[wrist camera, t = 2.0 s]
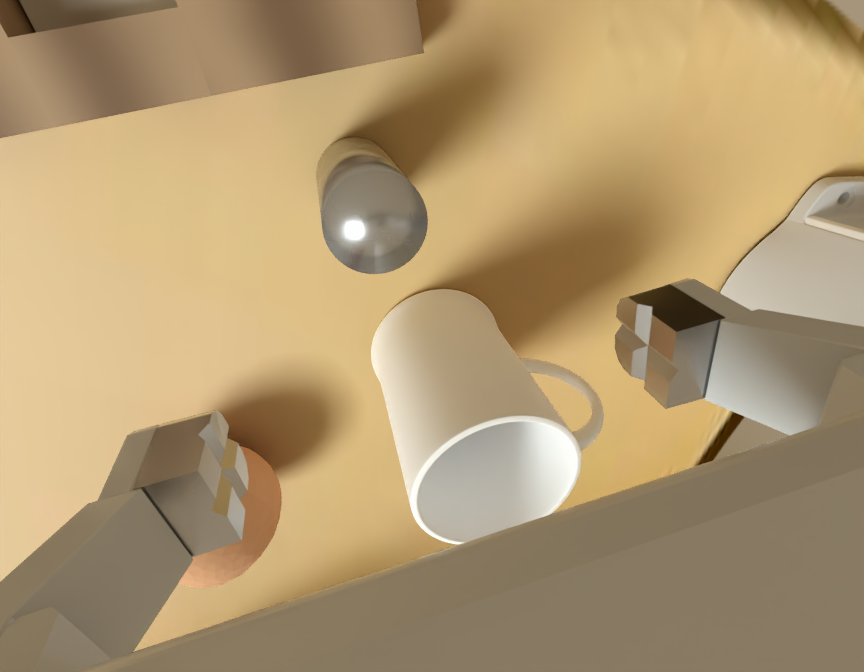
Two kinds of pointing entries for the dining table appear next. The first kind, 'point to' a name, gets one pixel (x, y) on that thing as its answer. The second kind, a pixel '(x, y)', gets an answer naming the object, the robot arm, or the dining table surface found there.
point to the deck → (179, 51)
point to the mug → (473, 419)
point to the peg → (368, 207)
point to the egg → (257, 529)
